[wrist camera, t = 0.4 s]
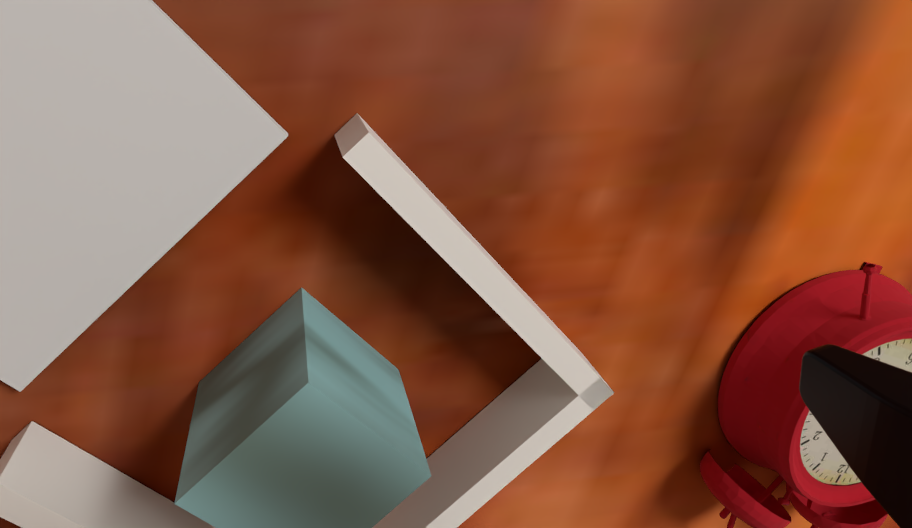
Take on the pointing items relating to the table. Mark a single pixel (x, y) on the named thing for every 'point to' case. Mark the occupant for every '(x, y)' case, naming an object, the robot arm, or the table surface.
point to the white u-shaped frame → (451, 466)
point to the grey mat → (104, 160)
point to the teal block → (301, 430)
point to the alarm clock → (785, 414)
